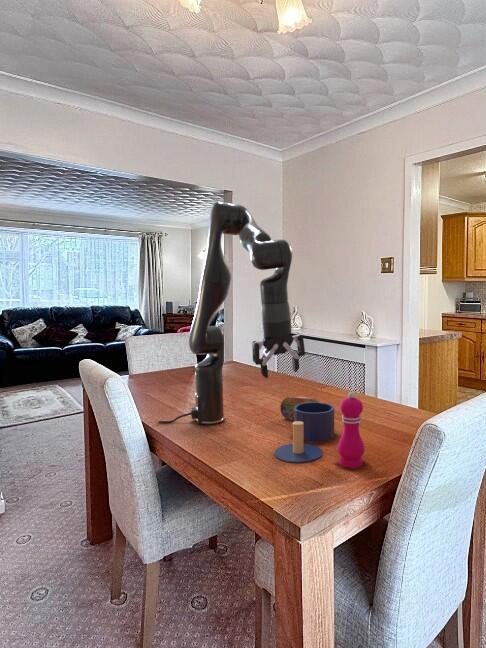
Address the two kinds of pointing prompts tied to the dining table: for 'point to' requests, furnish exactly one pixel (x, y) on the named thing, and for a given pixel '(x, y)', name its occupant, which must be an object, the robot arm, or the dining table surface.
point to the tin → (289, 404)
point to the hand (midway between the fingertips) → (280, 373)
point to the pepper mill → (351, 433)
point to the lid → (298, 448)
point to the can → (316, 420)
